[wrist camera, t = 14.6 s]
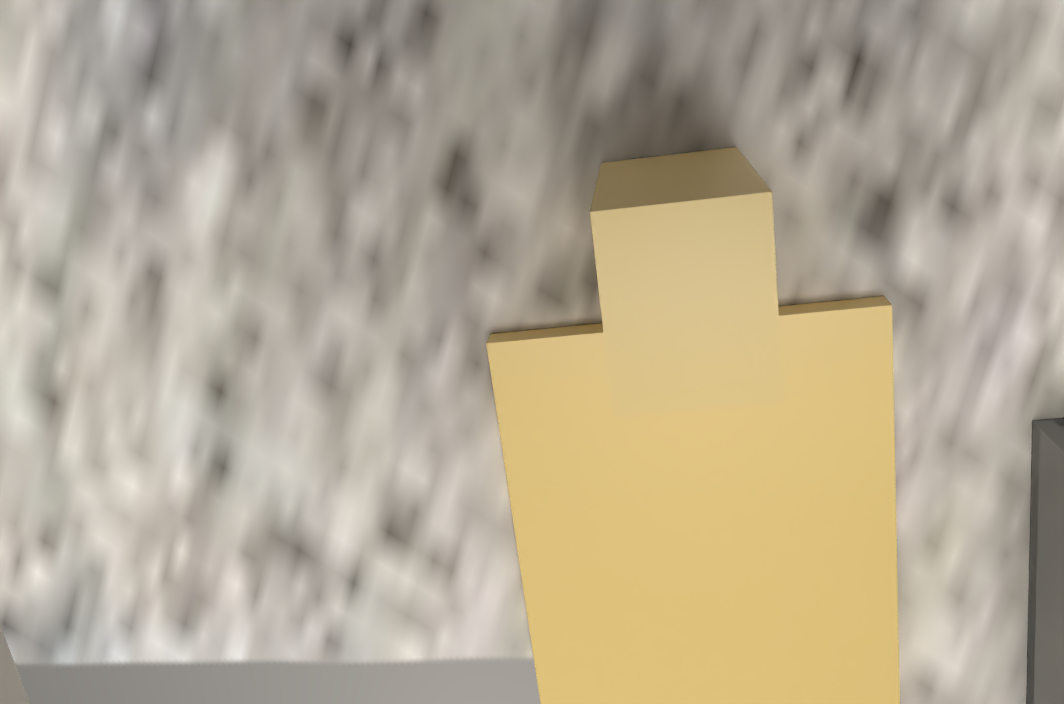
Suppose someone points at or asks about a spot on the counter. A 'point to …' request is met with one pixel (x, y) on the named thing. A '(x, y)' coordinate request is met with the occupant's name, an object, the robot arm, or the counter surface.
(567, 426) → the lid
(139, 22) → the counter surface
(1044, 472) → the tub
